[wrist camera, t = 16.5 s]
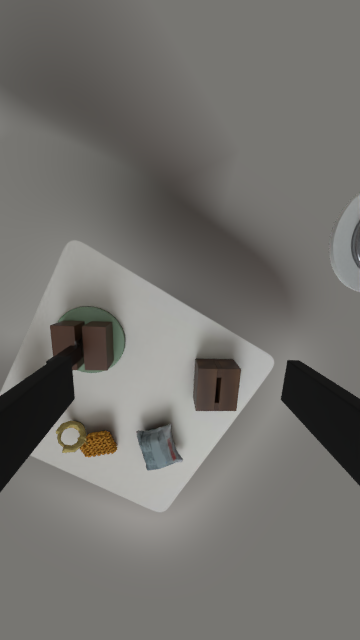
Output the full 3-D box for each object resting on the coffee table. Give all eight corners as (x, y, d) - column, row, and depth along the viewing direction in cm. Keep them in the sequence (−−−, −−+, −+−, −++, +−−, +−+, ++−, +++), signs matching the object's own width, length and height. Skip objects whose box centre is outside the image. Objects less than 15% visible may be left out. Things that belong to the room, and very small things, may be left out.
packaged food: (171, 416, 47) (171, 431, 42) (182, 454, 50) (183, 473, 45) (137, 424, 47) (133, 440, 43) (150, 461, 50) (147, 481, 45)
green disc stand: (124, 307, 41) (117, 311, 36) (125, 371, 44) (119, 384, 39) (52, 305, 40) (34, 309, 35) (58, 370, 43) (43, 383, 38)
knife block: (233, 359, 45) (241, 369, 40) (229, 397, 47) (236, 411, 42) (195, 358, 44) (198, 368, 40) (193, 397, 47) (195, 411, 42)
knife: (93, 332, 41) (59, 357, 28) (94, 350, 42) (61, 381, 29) (83, 332, 41) (45, 356, 28) (85, 350, 42) (48, 381, 29)
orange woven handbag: (125, 454, 43) (57, 435, 37) (103, 474, 47) (38, 460, 41) (129, 425, 49) (71, 405, 43) (109, 445, 52) (53, 428, 47)
